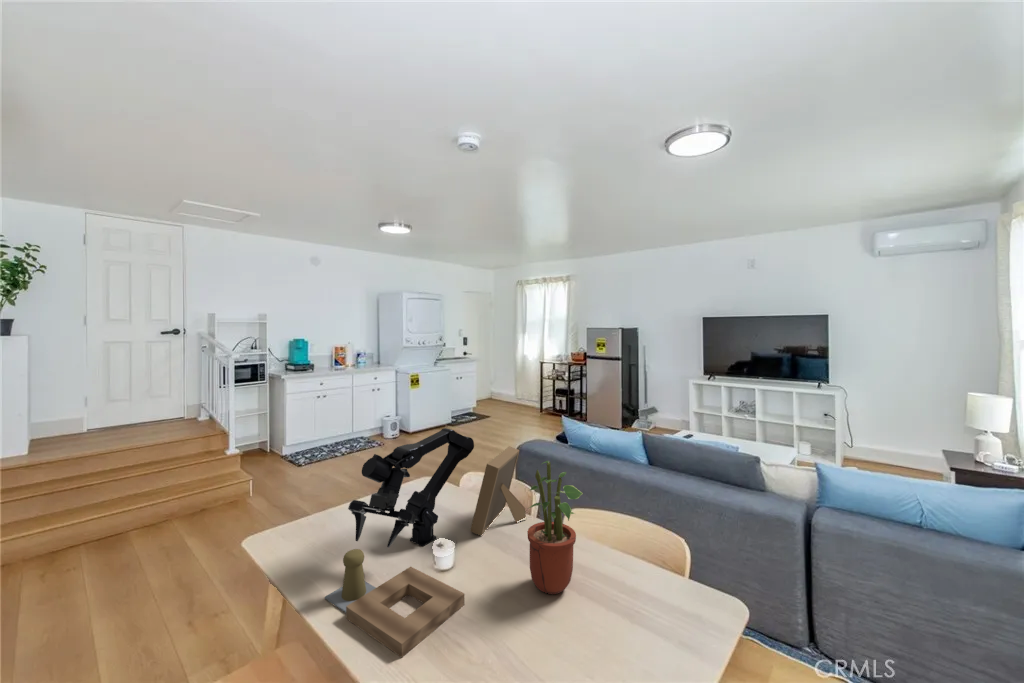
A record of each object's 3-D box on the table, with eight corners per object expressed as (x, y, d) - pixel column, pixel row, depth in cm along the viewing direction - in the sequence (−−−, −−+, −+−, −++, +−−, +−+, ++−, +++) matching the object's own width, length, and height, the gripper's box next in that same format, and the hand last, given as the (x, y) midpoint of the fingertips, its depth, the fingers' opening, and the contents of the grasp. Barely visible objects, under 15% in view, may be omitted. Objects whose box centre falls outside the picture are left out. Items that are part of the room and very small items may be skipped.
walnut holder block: (410, 576, 113) (410, 566, 113) (464, 605, 102) (464, 593, 102) (346, 618, 97) (346, 606, 97) (401, 657, 85) (401, 643, 85)
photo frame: (469, 534, 137) (471, 461, 136) (494, 507, 157) (495, 444, 157) (510, 542, 132) (512, 467, 131) (530, 514, 153) (532, 449, 152)
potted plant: (564, 610, 100) (566, 471, 99) (510, 589, 108) (511, 460, 107) (587, 573, 116) (589, 452, 115) (538, 557, 123) (539, 444, 122)
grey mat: (358, 579, 112) (358, 577, 112) (381, 592, 106) (381, 590, 106) (324, 598, 104) (324, 596, 104) (347, 614, 98) (347, 612, 98)
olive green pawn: (351, 604, 101) (351, 561, 101) (336, 595, 104) (336, 553, 104) (371, 590, 106) (371, 549, 106) (356, 583, 109) (356, 543, 109)
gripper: (353, 474, 116) (330, 533, 107) (416, 486, 115) (398, 546, 106) (363, 485, 125) (343, 539, 116) (422, 495, 124) (406, 551, 115)
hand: (372, 544), depth 113 cm, fingers open, 9 cm apart
